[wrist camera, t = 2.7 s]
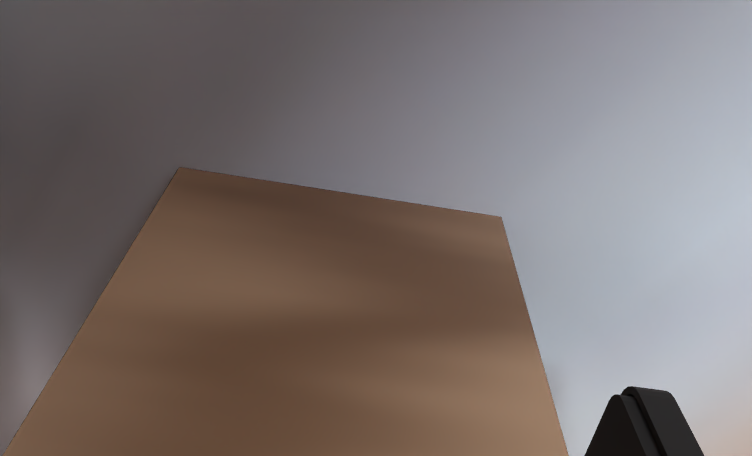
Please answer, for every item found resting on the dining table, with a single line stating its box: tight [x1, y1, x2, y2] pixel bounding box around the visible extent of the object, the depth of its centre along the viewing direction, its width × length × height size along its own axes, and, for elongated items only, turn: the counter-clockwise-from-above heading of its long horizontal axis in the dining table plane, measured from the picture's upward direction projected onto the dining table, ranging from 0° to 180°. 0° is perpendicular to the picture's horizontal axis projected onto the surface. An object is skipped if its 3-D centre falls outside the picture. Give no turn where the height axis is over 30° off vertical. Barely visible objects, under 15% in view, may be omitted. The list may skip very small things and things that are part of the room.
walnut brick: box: [3, 167, 569, 456], centre depth 9 cm, size 5×5×6 cm
